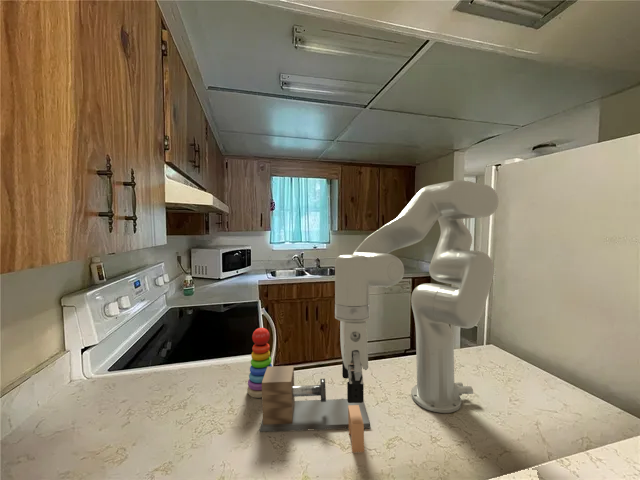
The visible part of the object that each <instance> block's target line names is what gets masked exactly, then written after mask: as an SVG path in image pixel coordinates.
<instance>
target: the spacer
mask: <svg viewBox="0 0 640 480" xmlns="http://www.w3.org/2000/svg"><path fill="white" fill-rule="evenodd" d="M348 423H349V428H348V434H349V435H351V451H352V453H365V431H364V430H365V428H364V423H363V419H362V416H361V412H360V408H359V405H348Z"/></svg>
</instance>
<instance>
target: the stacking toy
mask: <svg viewBox="0 0 640 480" xmlns="http://www.w3.org/2000/svg"><path fill="white" fill-rule="evenodd" d="M251 339H252V342H253V343H254V344H253V346H252V348H251V349H252V352H251V354H250V355H251V360H250V367H249V372H250V373H249V374H248V380H247V388H246V389H247V390H246V391H247V394H248V395H249V396H250V397H252V398H256V399H257V398H258V399H260V398H261V399H262V380H263V378H264V375H265V372H266V369H267V367H272V366H273V365H272V357H271V351H270V347H271V346H270V344H269V343H268V342H269V340H270V332H269V329H267V328H265V327H258V328H256V329H255V330H254V331H253V333H252V336H251Z"/></svg>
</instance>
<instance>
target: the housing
mask: <svg viewBox="0 0 640 480" xmlns="http://www.w3.org/2000/svg"><path fill="white" fill-rule="evenodd" d="M294 366H295V365H279V366H278V365H277V366H274V365H272V367H267V369H266V372H265V375H264V378H263V380H262V397H261V400H262V401H261V404H262V406H261V407H262V411H261V412H262V419H261V422H260V427H259V432H260V433H263V432H262V431H271V432H282V431H281V430H296V431H309V430H308V429H314V431H315V430H317V431H320V430H341V429H349V423H348V405H359V408H360V412H361V416H362V419H363V423H364V429H366V428H367V429H368V428H371V420H370V418H369V415H368V414H369V413H368V410H367V407H366V404H365V401H363V403H348V400H347V398H339V399H338V398H337V399H336V398H334V399H333V398H332V399H326V402H321V399H315V400H314V399H310V400H309V399H306V400H296V399H295V398H296V397H293V395H292V387H293V386H295V367H294Z"/></svg>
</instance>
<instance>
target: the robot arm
mask: <svg viewBox="0 0 640 480" xmlns="http://www.w3.org/2000/svg"><path fill="white" fill-rule="evenodd" d="M498 206H499V197H498V193H497V192H496V190H495V189H494V188H493V187H492V186H490V185H488V184H484V183H478V182H475V181H474V182H473V181H468V180H458V179H457V180H449V181H444V182H440V183H434V184H430V185H426V186H424V187H422V188H420V190H419V191H418V192H416V194H415V195H414V196H413V197H412V198H411V200H410V201H409V202H408V203H407V205H406V206H405V207H404V208H403V209H402V210H401V212H399V214H398V215H397V216H396V218H394V219H393V220H391V221H389V222H387V223H386V224H384V225H383V226H382V227H380V228H378V229H377V230H376V231H374V232H373V233H371V234H369V235H368V236H367V237H366V238H364V240H363V241H362V242H360V244H359V245H358V247H356V248H355V250H354V251H353V253H352V254H342V255H341V254H340V255H339V256H337V257H336V258H335V260H334V261H335V262H334V277H335V278H334V294H335V295H334V319H336V320H337V321H340V325H339V329H340V331H339V332H340V333H339V334H340V338H339V341H340V351H341V352H340V353H341V358H342V365H341V366H342V369H341V370H342V373H341V374H342V378H343V379H348V381H347V383H346V385H347V386H346V387H347V389H346V390H347V393H346V394H347V397H346V399H347V400H348V403H363V401H364V396H365V395H364V385H365V384H364V378H363V377H364V375H363V370H365V371H367V370H368V369H369V353H368V352H369V350H368V349H369V347H368V346H369V345H368V331H367V324H366V323H367V322H368V321H369V320H370V288H371V287H378V288H379V287H383V288H389V287H393V286H396V285H397V284H399V283H400V282H401V280H402V279H403V277H404V275H405V267H404V263H403V262H402V260H400V258H398V257H397V256H396V255H393V254H391V253H392V252H393V251H396V250H399V249H403V248H406V247H407V248H408V247H409V246H412V245H415V244H418V243H419V242H422V241H423V240H424V239H425V237H427V235H428V233H429V232H430V231H431V230H432V227H434V225H435V223H437V221H438V223H439V227H440V228H439V229H440V236H439V239H438V242H437V245H436V246H435V250H434V253H433V255H432V258H431V261H430V264H429V267H428V268H429V269H428V273H429V276H430V278H432V279H433V280H434V281H436V282H439V283H444V284H438V283H431V282H430V283H428V282H427V283H421V284H419V285H417V286H416V287H415V288H414V289H413V291H412V293H411V299H410V302H411V309H412V312H413V318H414V323H415V325H414V326H415V349H416V350H415V351H416V354H415V355H416V384H415V385H414V386H413V387H412V388H411V392H410V393H411V398H412V400H413V401H414V402H415V403H416V405H418V406H419V407H421V408H423V409H425V410H427V411H431V412H434V413H438V414H439V413H441V414H448V413H454V412H457V411H458V410H460V409H461V407H462V399H461V396H462V395H473V394H474V389H473V387H472V386H471V385H464V384H463V382H462V381H461V382H455V348H454V347H455V346H454V345H455V344H454V343H455V340H454V339H455V338H454V334H453V331H452V328H451V326H453V327H458V328H463V329H472V328H474V327H475V326H476V325H478V323H479V322H480V320H481V318H482V315H483V312H484V308H485V307H486V304H487V300H488V296H489V294H490V289H491V288H492V287H491V286H492V283H493V279H494V272H495V271H494V270H495V269H494V263H493V260H492V258H491V256H490V255H488V254H487V253H485V252H484V251H480V250H470V249H471V247H472V244H473V235H472V234H471V231H470V230H469V228H468V227H467V226H466V225H465V224H464V222H463V220H465V219H480V218H487V217H490V216H492V215H493V214H494V213H495V212H496V210H497V209H498ZM445 284H450V285H455V286H450V285H445ZM456 286H457V287H456ZM458 286H460V287H458ZM364 402H365V401H364Z"/></svg>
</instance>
